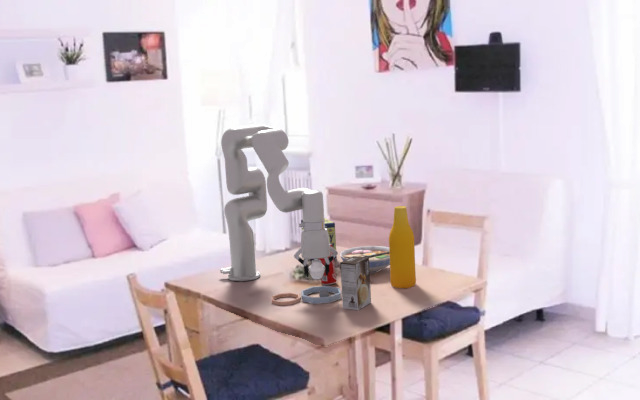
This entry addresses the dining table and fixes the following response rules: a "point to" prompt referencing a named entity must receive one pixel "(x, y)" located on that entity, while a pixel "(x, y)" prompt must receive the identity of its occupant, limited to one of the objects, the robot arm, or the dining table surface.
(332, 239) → the protein box
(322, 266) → the white steamed bun
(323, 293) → the grey ball
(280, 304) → the terracotta ring
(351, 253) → the ramen bowl
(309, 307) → the dining table surface
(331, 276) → the beverage can
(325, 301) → the slate ring
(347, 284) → the coffee box
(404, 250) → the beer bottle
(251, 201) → the robot arm
